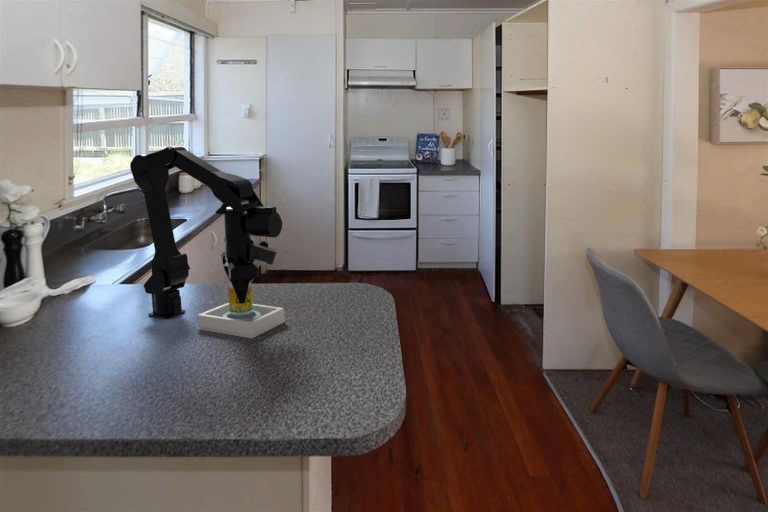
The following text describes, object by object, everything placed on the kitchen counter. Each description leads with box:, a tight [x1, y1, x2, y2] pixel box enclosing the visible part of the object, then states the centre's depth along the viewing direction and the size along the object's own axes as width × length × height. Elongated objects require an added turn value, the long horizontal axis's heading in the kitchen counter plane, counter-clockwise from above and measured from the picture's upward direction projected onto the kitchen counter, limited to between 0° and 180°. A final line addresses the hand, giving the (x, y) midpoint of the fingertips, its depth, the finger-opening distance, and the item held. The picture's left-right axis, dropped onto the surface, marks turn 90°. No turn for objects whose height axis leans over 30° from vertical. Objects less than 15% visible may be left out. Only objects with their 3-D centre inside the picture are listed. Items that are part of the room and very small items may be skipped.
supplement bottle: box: [227, 281, 253, 315], centre depth 153 cm, size 5×5×10 cm
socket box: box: [197, 302, 285, 339], centre depth 154 cm, size 15×13×4 cm
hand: (240, 299), depth 153 cm, fingers closed on supplement bottle, 5 cm apart
